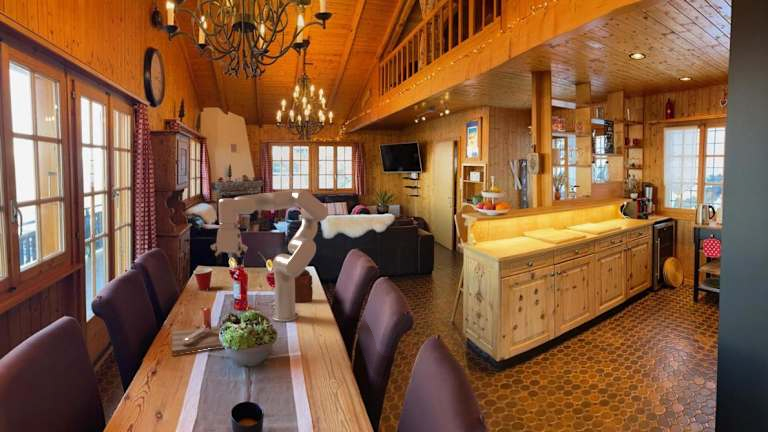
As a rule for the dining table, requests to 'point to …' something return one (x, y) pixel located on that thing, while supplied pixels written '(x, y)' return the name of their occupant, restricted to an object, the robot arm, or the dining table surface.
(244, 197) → the robot arm
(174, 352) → the lever board
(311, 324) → the dining table surface
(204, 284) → the plastic cup
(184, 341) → the lever
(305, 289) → the wooden figurine
